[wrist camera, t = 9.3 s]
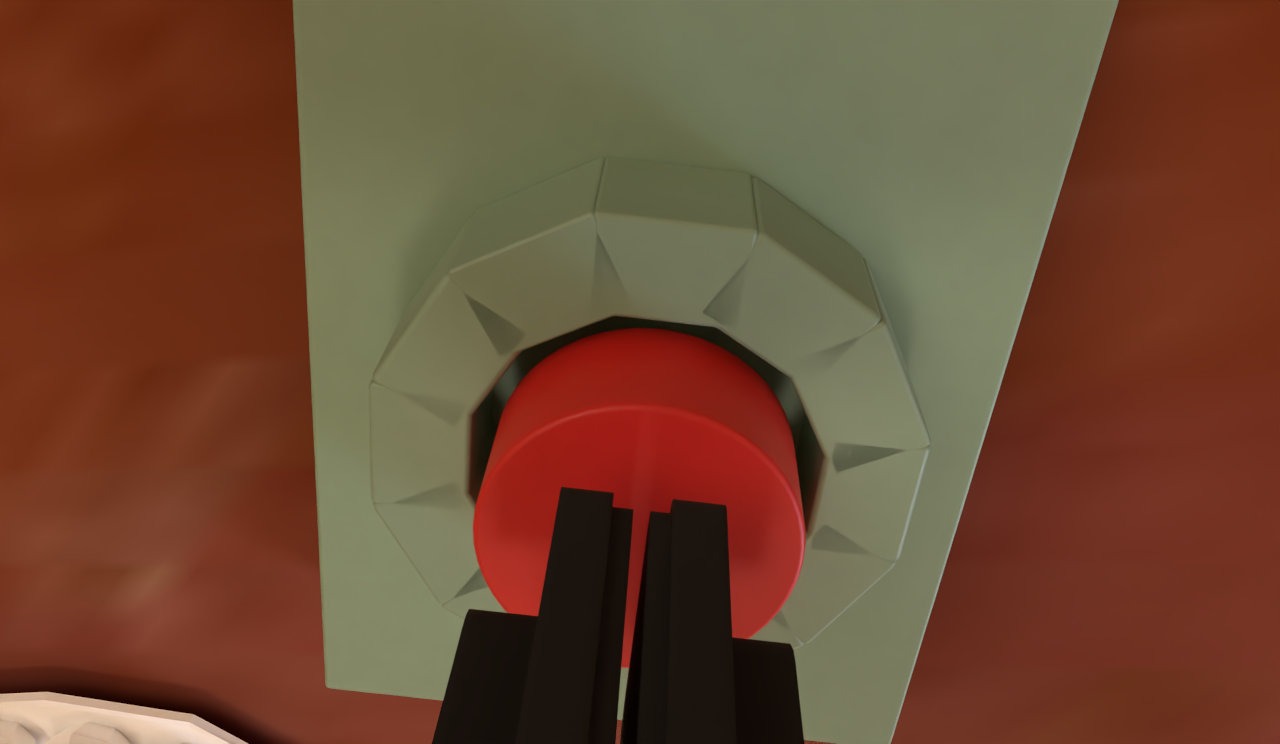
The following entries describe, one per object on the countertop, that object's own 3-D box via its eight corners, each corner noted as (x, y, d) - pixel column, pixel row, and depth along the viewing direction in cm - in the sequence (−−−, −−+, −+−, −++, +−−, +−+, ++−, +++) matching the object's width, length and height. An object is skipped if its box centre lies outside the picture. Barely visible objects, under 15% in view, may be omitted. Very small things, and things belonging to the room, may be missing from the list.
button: (502, 308, 13) (476, 387, 11) (819, 343, 13) (835, 427, 11) (490, 556, 15) (467, 653, 13) (768, 587, 15) (776, 687, 13)
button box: (341, -156, 14) (221, -116, 10) (1072, -69, 14) (1197, 0, 10) (360, 596, 20) (288, 782, 16) (871, 652, 20) (907, 849, 16)
